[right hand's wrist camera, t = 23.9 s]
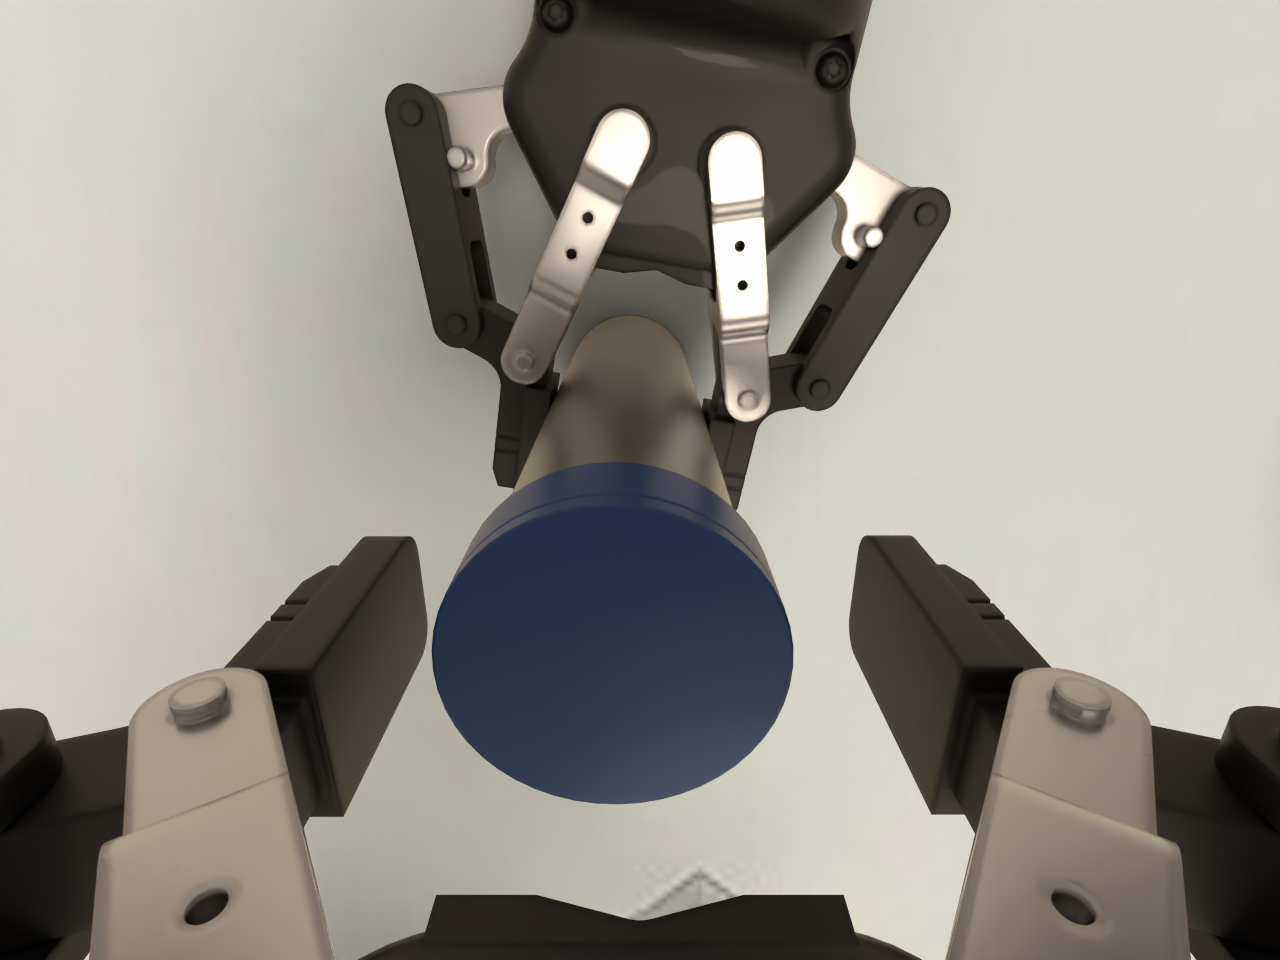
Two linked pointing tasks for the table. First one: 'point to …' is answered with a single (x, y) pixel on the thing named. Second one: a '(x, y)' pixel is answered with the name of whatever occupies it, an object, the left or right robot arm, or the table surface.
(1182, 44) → the table surface
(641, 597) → the lid
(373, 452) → the table surface
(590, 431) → the jar
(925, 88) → the table surface
